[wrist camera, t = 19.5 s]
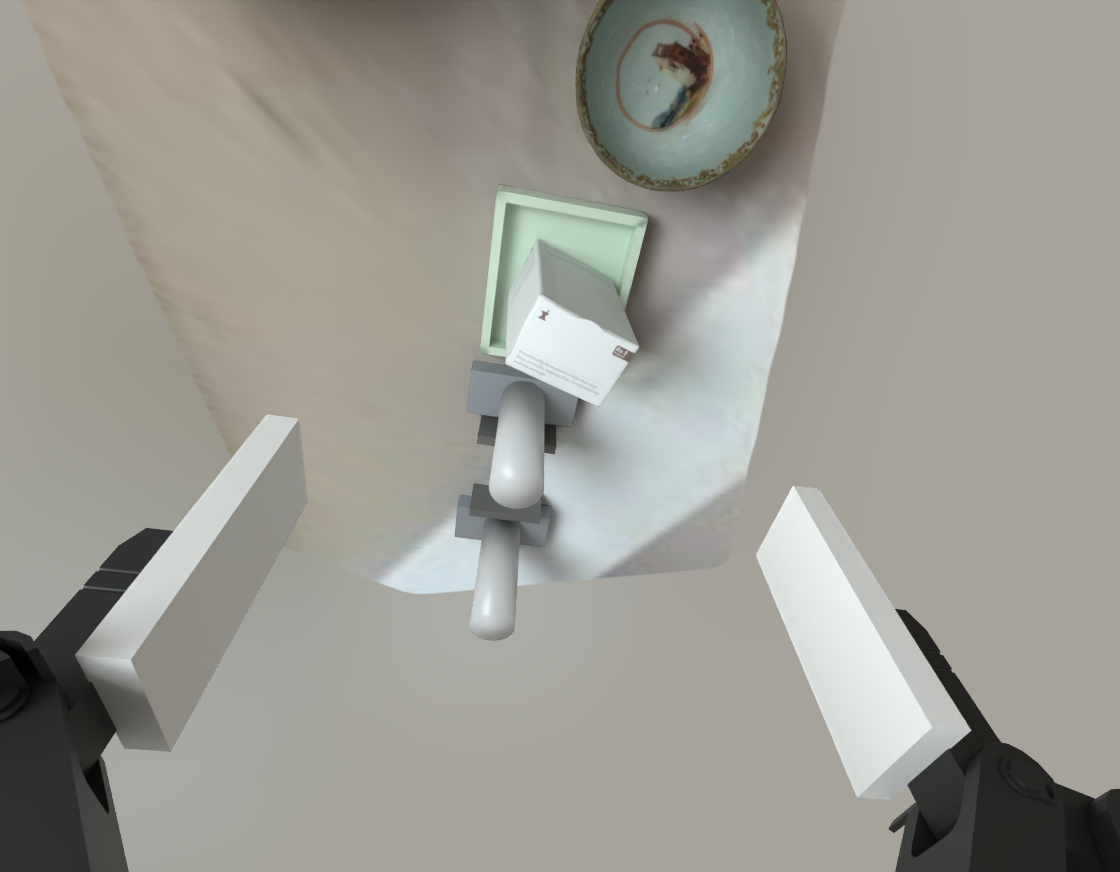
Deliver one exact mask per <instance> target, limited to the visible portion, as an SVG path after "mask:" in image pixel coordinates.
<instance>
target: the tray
mask: <svg viewBox="0 0 1120 872" xmlns="http://www.w3.org/2000/svg"><path fill="white" fill-rule="evenodd" d="M647 223H648V217H647V215H646V214H645V212H643V211H638V210H632V209H627V208H622V207H617V206H611V205H606V204H601V203H595V202H590V201H585V200H580V199H574V198H569V197H564V196H559V195H553V194H548V193H543V192H537V191H532V190H527V189H522V188H516V187H511V186H506V185H500V184H499V187H498V189H497V197H496V206H495V215H494V225H493V234H492V243H491V253H490V262H489V272H488V281H487V290H486V300H485V309H484V318H483V328H482V337H481V347H480V353H483V354H489V355H496V356H502V357H506V338H507V318H508V295H509V291H510V289H511V287H512V285H513V283H514V281H515V279H516V277H517V275H518V274H519V272H520V270H521V268H522V266H523V264H524V262H525V260H526V258H527V256H528V254H529V252H530V251H531V249H532V247H533V245H534V243H535V241H536V240H537V239H540V240H541V241H543V242H545V243H546V244H548V245H550V246H551V247H554V248H556V249H558V250H560V251H562V252H564V253H566V254H568V255H569V256H571V257H573V258H575V259H577V260H578V261H580V262H582V263H584V264H586V265H587V266H589V267H591V268H593V269H594V270H596V271H598V272H600V273H602V274H603V275H605V276H607V277H608V278H610V279H611V280H612V282H613V284H614V287H615V289H616V292H617V294H618V296H619V299H620V301H621V304H622V306H623V309H624V311H625V308H626V304H627V300H628V296H629V292H630V289H631V285H632V281H633V277H634V273H635V269H636V265H637V261H638V258H639V254H640V250H641V246H642V242H643V238H644V234H645V230H646V226H647Z"/></svg>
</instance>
